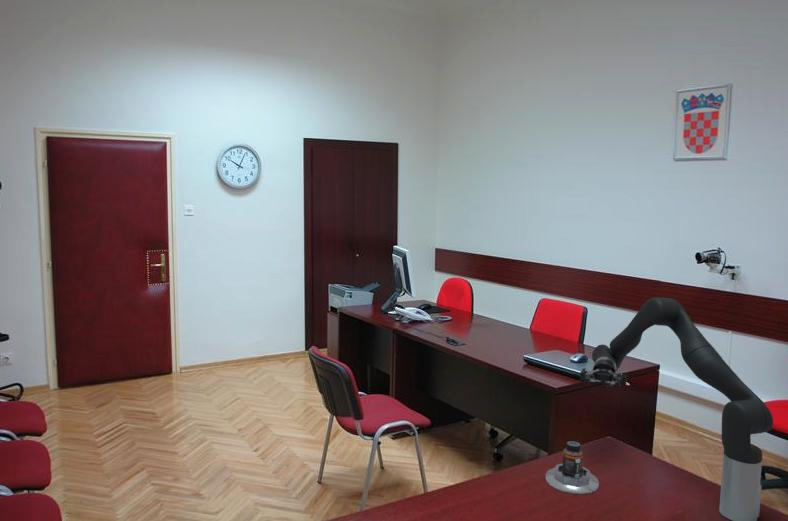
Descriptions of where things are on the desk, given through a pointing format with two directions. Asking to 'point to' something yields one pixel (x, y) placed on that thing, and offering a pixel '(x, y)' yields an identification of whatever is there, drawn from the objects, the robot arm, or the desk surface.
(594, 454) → the desk surface
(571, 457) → the supplement bottle
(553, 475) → the steel collar
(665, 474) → the desk surface
